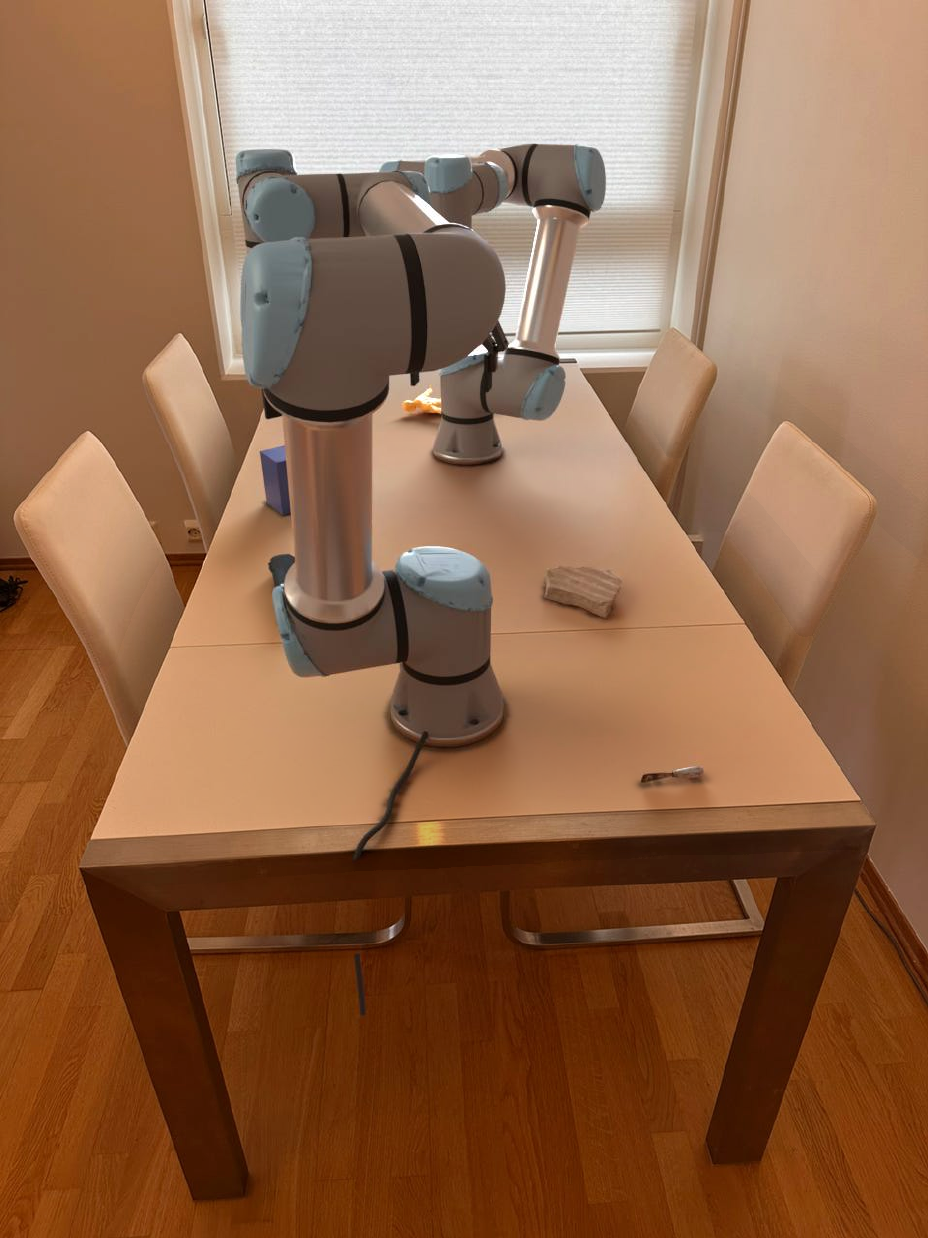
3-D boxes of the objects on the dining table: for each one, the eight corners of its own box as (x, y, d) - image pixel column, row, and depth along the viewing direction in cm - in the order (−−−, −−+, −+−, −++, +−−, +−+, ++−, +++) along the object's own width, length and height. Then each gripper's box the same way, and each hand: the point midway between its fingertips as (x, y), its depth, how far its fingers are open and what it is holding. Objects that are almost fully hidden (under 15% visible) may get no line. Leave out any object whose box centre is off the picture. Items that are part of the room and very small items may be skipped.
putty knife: (703, 777, 109) (705, 767, 109) (642, 788, 108) (644, 777, 107) (700, 772, 110) (702, 762, 109) (639, 782, 109) (640, 771, 108)
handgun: (352, 612, 143) (277, 623, 140) (336, 561, 157) (267, 570, 155) (351, 595, 141) (274, 606, 139) (334, 545, 156) (265, 554, 153)
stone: (626, 584, 150) (627, 571, 148) (608, 619, 140) (609, 605, 139) (553, 571, 154) (553, 558, 153) (530, 604, 145) (530, 590, 143)
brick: (303, 492, 183) (298, 441, 177) (320, 504, 178) (315, 452, 172) (266, 502, 179) (259, 450, 173) (282, 515, 174) (276, 462, 168)
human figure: (395, 413, 223) (394, 398, 221) (438, 390, 237) (438, 375, 235) (462, 429, 215) (462, 413, 213) (502, 404, 229) (503, 388, 227)
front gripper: (215, 267, 127) (236, 411, 138) (295, 298, 110) (311, 460, 121) (263, 261, 131) (280, 402, 142) (348, 290, 114) (359, 448, 125)
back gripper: (370, 261, 148) (378, 387, 159) (517, 268, 142) (514, 399, 153) (386, 252, 154) (392, 374, 165) (527, 259, 148) (524, 385, 159)
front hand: (294, 429), depth 132 cm, fingers open, 13 cm apart
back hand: (451, 386), depth 159 cm, fingers open, 13 cm apart
